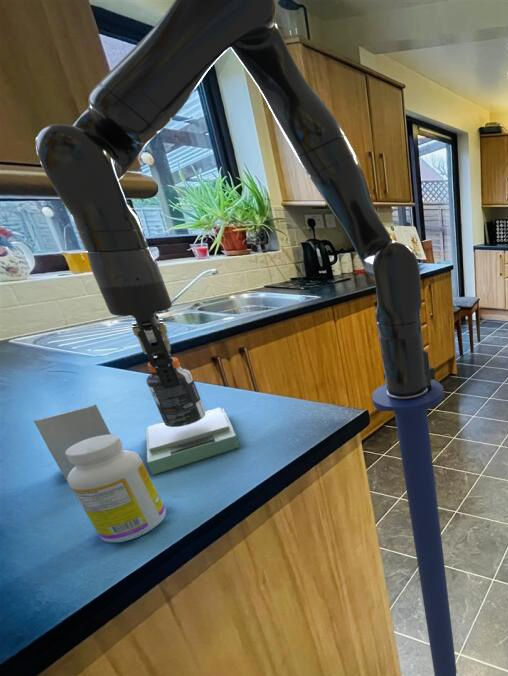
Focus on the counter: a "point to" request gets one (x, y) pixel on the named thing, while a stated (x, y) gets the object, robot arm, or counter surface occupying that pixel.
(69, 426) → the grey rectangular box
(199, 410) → the pill bottle
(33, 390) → the counter surface
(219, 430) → the scale
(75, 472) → the supplement bottle
